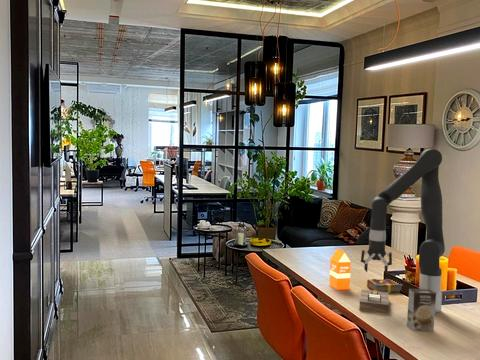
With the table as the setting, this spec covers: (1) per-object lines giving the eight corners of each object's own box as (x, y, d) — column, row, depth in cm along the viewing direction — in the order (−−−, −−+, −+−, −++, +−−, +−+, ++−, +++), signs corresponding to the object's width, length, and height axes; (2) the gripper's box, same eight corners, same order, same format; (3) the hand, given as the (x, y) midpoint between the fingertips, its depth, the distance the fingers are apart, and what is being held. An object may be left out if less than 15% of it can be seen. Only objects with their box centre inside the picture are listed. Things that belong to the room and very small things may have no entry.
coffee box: (412, 331, 195) (414, 293, 194) (406, 325, 202) (408, 288, 201) (434, 331, 196) (436, 293, 194) (427, 325, 202) (429, 288, 201)
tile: (369, 298, 230) (369, 293, 231) (379, 299, 229) (380, 295, 229) (368, 301, 221) (368, 296, 221) (379, 302, 220) (380, 297, 220)
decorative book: (366, 287, 256) (367, 278, 256) (394, 287, 259) (395, 278, 258) (375, 294, 245) (375, 284, 245) (404, 293, 248) (405, 284, 247)
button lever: (372, 299, 233) (372, 290, 234) (376, 299, 233) (376, 290, 233) (372, 301, 224) (372, 292, 225) (376, 302, 224) (376, 293, 224)
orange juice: (336, 289, 250) (338, 252, 248) (329, 284, 258) (330, 248, 257) (349, 288, 252) (351, 251, 250) (342, 284, 260) (343, 248, 259)
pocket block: (360, 297, 238) (361, 289, 238) (388, 300, 234) (388, 292, 234) (359, 310, 219) (359, 301, 219) (388, 313, 216) (389, 304, 215)
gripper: (392, 238, 228) (391, 271, 229) (362, 236, 232) (360, 268, 233) (393, 241, 221) (391, 275, 222) (361, 239, 225) (360, 272, 226)
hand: (375, 272), depth 227 cm, fingers open, 8 cm apart
